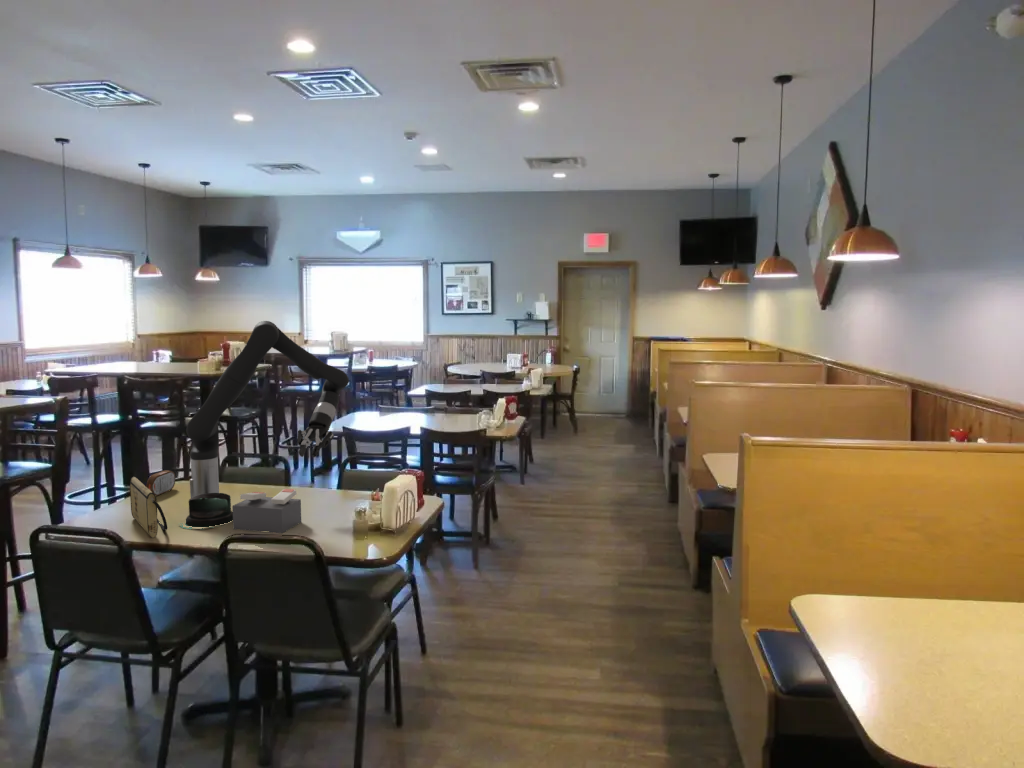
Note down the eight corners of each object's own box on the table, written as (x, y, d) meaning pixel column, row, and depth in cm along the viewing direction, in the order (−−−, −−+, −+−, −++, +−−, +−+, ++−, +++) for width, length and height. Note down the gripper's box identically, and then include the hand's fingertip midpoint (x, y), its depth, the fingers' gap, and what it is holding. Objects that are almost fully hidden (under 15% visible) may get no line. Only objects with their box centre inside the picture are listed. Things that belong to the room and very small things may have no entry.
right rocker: (284, 493, 236) (283, 488, 236) (296, 494, 235) (295, 489, 235) (271, 503, 229) (271, 498, 228) (284, 504, 228) (283, 499, 227)
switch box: (254, 518, 241) (253, 494, 240) (301, 522, 237) (300, 497, 236) (233, 529, 229) (232, 503, 228) (282, 533, 225) (281, 507, 224)
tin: (170, 488, 280) (169, 467, 279) (177, 488, 280) (176, 468, 279) (145, 498, 266) (144, 476, 265) (153, 498, 265) (152, 477, 264)
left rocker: (254, 496, 237) (254, 491, 237) (265, 497, 236) (266, 492, 236) (240, 499, 229) (240, 493, 229) (252, 500, 228) (252, 494, 228)
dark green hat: (234, 509, 252) (233, 484, 251) (248, 523, 236) (247, 497, 235) (174, 519, 241) (173, 493, 240) (184, 534, 224) (183, 506, 223)
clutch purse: (173, 535, 222) (171, 490, 221) (149, 540, 218) (147, 494, 216) (152, 514, 245) (149, 473, 244) (130, 518, 241) (127, 476, 239)
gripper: (301, 410, 255) (284, 449, 245) (336, 411, 252) (321, 451, 242) (309, 422, 261) (293, 460, 250) (343, 423, 258) (329, 462, 247)
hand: (307, 455), depth 246 cm, fingers open, 4 cm apart
